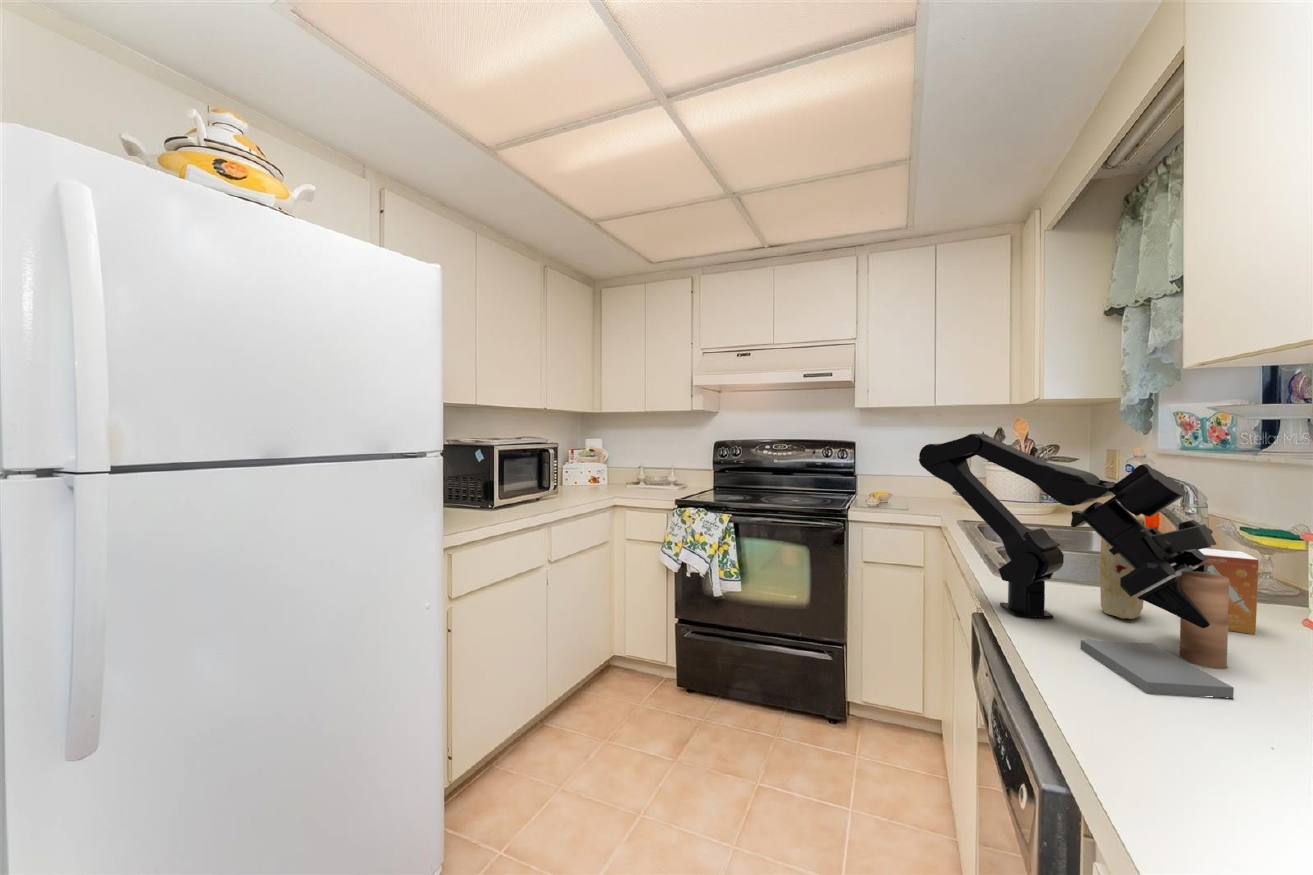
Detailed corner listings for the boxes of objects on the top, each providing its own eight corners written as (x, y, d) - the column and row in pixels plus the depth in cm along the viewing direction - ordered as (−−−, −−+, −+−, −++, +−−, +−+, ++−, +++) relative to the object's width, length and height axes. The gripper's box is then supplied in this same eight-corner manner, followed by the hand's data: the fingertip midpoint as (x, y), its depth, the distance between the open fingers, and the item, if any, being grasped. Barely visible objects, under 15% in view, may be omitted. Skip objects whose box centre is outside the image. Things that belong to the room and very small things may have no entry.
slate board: (1080, 648, 85) (1080, 639, 85) (1151, 652, 83) (1151, 643, 83) (1146, 693, 71) (1147, 682, 71) (1233, 698, 70) (1233, 687, 70)
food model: (1149, 627, 94) (1151, 514, 93) (1099, 618, 98) (1102, 510, 97) (1144, 611, 101) (1146, 506, 101) (1098, 604, 106) (1100, 503, 105)
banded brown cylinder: (1170, 652, 84) (1172, 570, 83) (1207, 654, 83) (1209, 571, 82) (1197, 667, 79) (1200, 579, 78) (1236, 669, 78) (1239, 581, 77)
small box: (1192, 626, 94) (1194, 553, 94) (1179, 615, 100) (1180, 545, 99) (1257, 635, 90) (1259, 559, 90) (1240, 623, 96) (1242, 550, 95)
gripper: (1149, 509, 78) (1258, 605, 69) (1191, 499, 88) (1292, 582, 79) (1083, 551, 85) (1174, 643, 76) (1129, 537, 95) (1215, 618, 86)
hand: (1216, 620), depth 79 cm, fingers open, 9 cm apart
